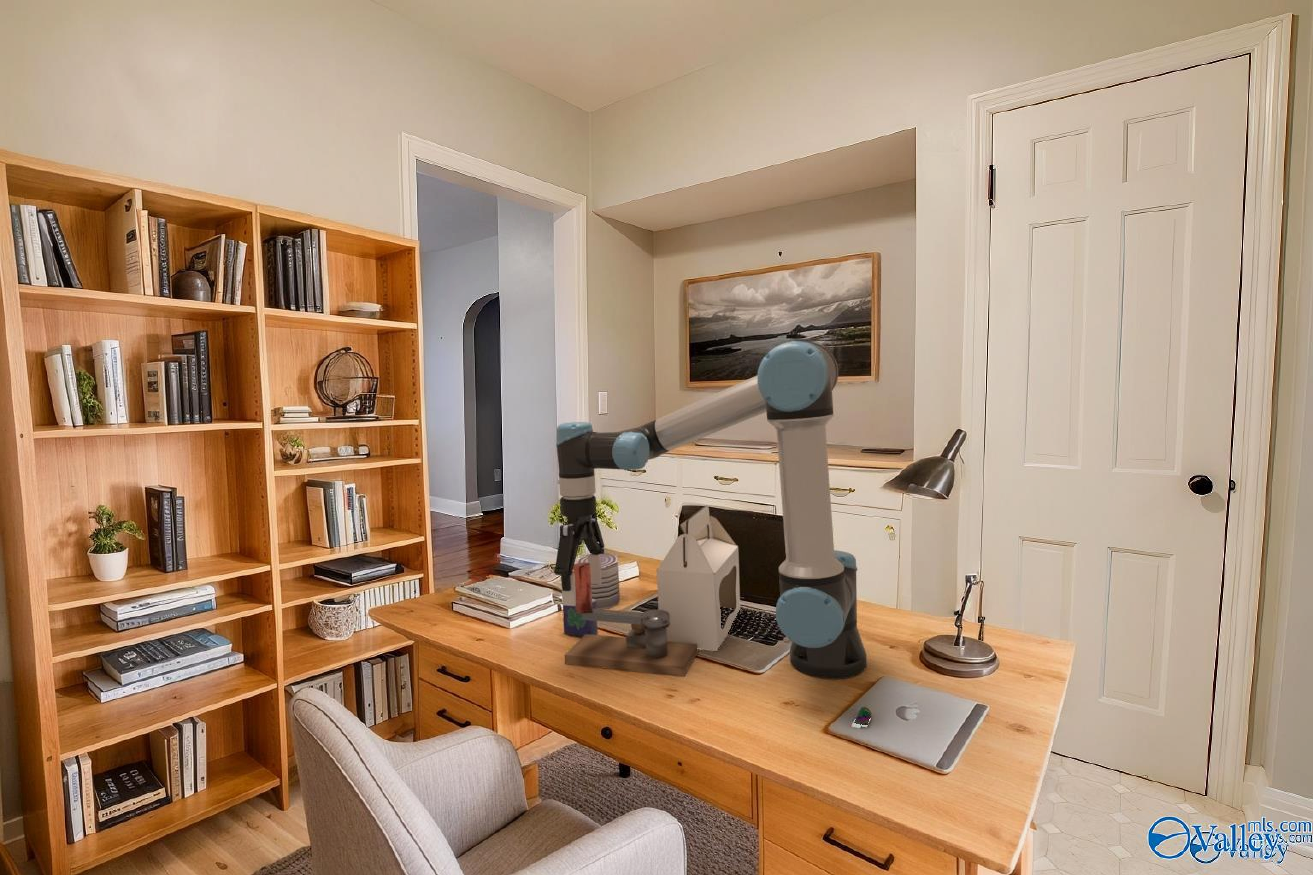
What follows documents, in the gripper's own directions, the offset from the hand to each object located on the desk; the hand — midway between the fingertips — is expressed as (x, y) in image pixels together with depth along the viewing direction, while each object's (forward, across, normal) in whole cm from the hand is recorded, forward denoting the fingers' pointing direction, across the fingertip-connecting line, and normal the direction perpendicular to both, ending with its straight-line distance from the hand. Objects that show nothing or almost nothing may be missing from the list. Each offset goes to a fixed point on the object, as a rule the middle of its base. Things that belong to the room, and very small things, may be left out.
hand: (583, 593), depth 140 cm
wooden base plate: (+14, -1, +10) cm, 17 cm away
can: (+14, -31, -10) cm, 35 cm away
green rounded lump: (+14, +14, +57) cm, 61 cm away
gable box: (+14, -19, +21) cm, 32 cm away
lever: (+5, 0, +9) cm, 10 cm away
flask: (+14, -10, -6) cm, 18 cm away
